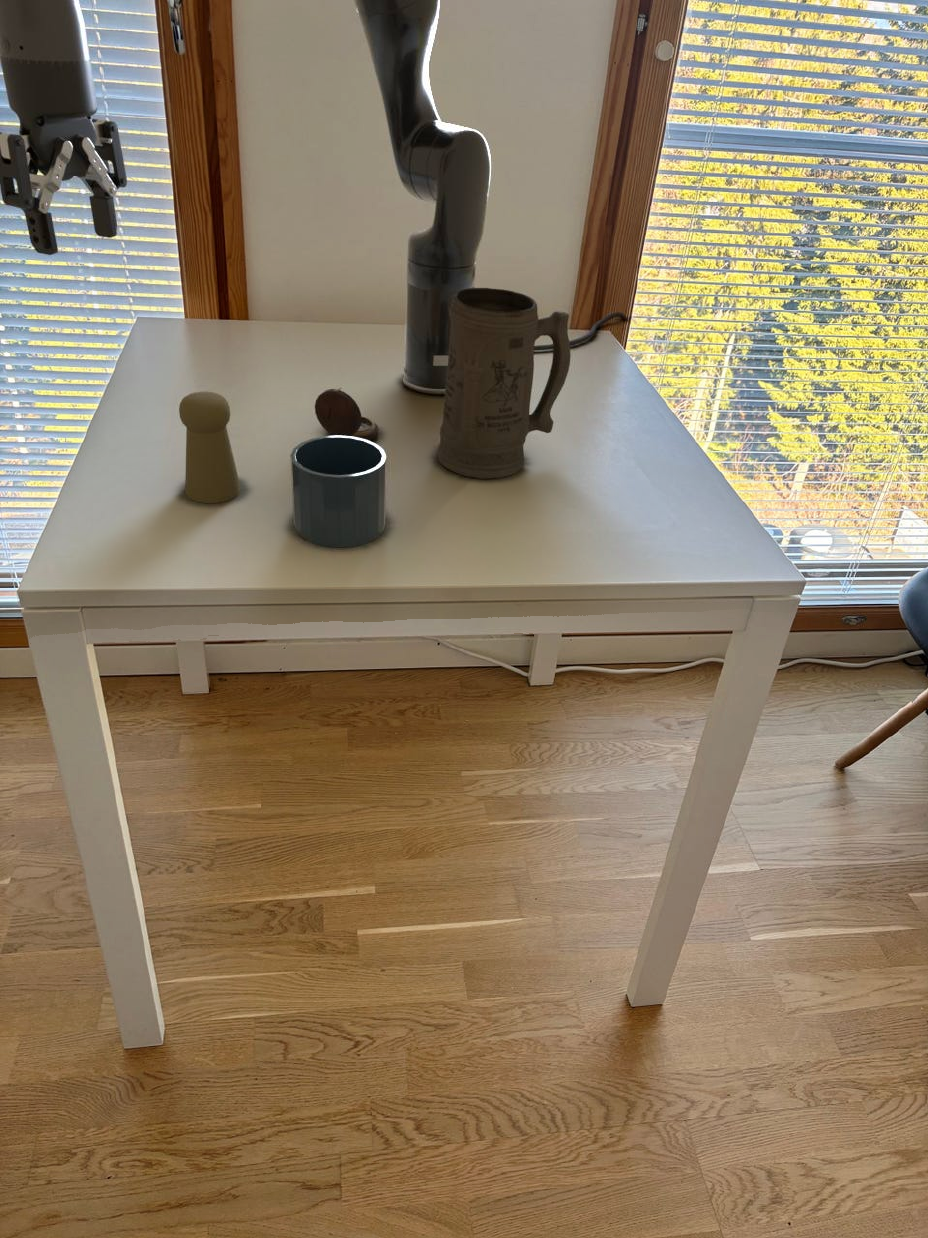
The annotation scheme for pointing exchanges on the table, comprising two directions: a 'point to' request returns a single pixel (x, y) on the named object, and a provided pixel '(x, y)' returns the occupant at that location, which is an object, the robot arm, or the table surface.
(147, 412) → the table surface
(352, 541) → the tumbler
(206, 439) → the cork
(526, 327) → the beer stein
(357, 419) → the compass
